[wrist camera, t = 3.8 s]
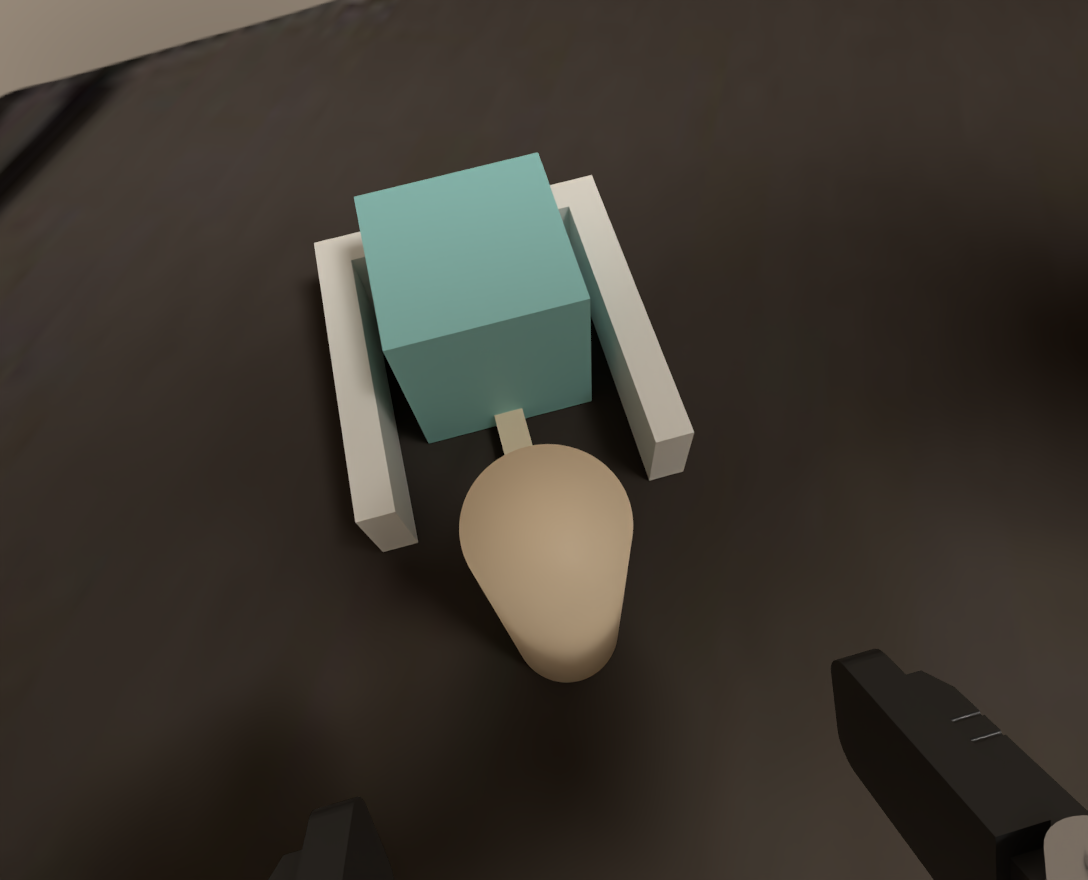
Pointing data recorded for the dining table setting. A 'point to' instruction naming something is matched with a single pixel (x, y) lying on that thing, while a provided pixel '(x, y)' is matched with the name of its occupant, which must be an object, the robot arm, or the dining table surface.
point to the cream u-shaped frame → (367, 389)
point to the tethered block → (506, 395)
